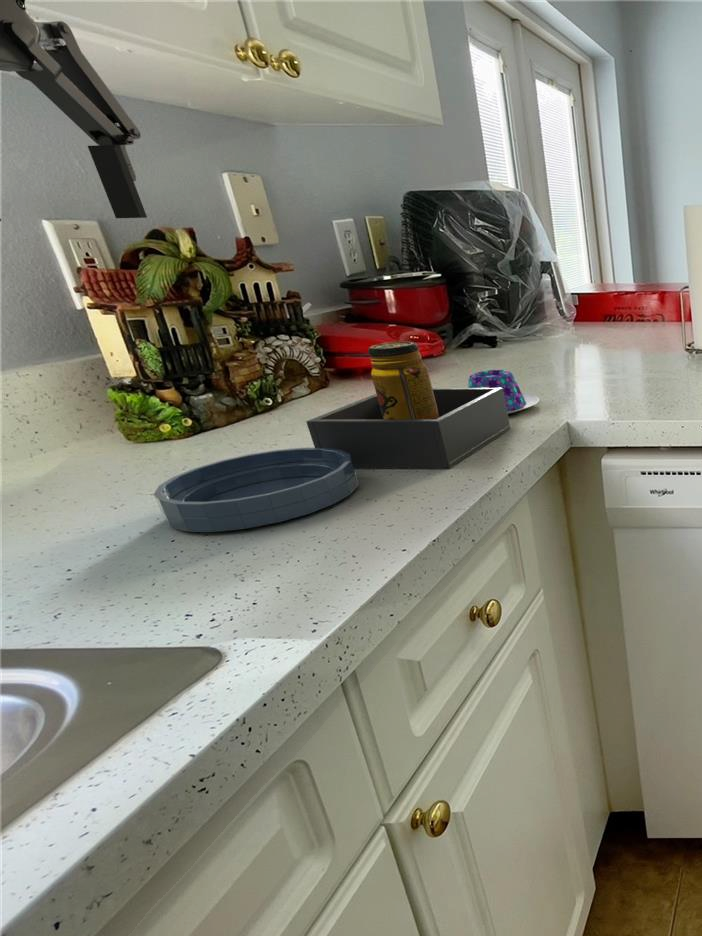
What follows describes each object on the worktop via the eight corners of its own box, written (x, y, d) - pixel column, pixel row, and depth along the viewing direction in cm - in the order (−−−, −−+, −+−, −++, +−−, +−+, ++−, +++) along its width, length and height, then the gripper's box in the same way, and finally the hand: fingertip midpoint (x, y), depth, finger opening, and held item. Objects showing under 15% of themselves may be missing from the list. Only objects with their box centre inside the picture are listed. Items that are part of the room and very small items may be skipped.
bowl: (122, 534, 66) (107, 503, 65) (256, 474, 81) (246, 447, 79) (285, 537, 65) (273, 504, 63) (391, 475, 79) (383, 447, 78)
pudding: (546, 412, 102) (539, 376, 100) (455, 424, 97) (447, 387, 95) (533, 395, 112) (527, 361, 110) (450, 405, 107) (442, 370, 105)
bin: (321, 468, 82) (305, 421, 80) (400, 429, 96) (389, 388, 94) (449, 468, 81) (438, 421, 78) (510, 429, 95) (502, 387, 93)
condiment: (374, 447, 87) (345, 348, 82) (432, 428, 94) (409, 335, 89) (416, 454, 84) (389, 351, 79) (473, 434, 91) (451, 338, 86)
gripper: (-233, -138, 46) (-57, 222, 55) (129, -26, 68) (211, 216, 77) (-334, -130, 46) (-143, 224, 55) (58, -22, 69) (148, 217, 78)
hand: (64, 220), depth 66 cm, fingers open, 13 cm apart
